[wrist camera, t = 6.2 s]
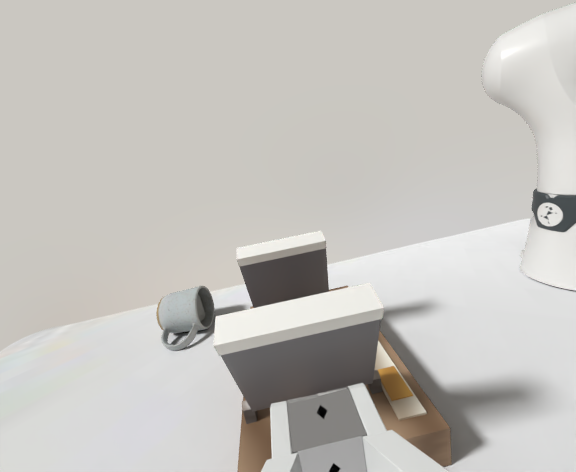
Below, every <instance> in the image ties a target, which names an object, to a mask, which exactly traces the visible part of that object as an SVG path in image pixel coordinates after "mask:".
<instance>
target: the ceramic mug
mask: <svg viewBox="0 0 576 472" xmlns="http://www.w3.org/2000/svg"><path fill="white" fill-rule="evenodd" d="M213 319H214V303H213V299H212V296H211V293H210V292H209V290H208V289H207V288H206V287H205V286H199V287H195V288H191V289H188V290H183V291H179V292H175V293H171V294H169V295H167V296H165V297H163V298H162V299H161V300H160V302H159V304H158V307H157V321H158V324H159V326H160V327H161V329H162V330H163V333H162V337H161V339H162V343H163V344H164V346H165V347H166V348H167V349H169V350H172V351H177V350H181V349H183V348H185V347H187V346H188V345H189V344H190V343H191V342H192V341H193V339H194V338H195V336H196V334H197V331H198V330H204V329H208V328H209V327H210V326H211V325H212V323H213ZM187 331H190V332H189V334H188V335H187V337H186V338H185V339H184V340H182V341H181V342H180V343H178V344H176V345H172V344H168V343H167V341H168V340H167V339H168V335H169V333H180V332H187Z"/></svg>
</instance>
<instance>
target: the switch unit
mask: <svg viewBox="0 0 576 472" xmlns="http://www.w3.org/2000/svg"><path fill="white" fill-rule="evenodd" d="M343 288H348V286H344V287H340V288H335V289H331V290H329V292H330V291H334V290H339V289H343ZM252 308H254V307H251V308H250V309H252ZM365 386H366V388H367V390H368V392H369V394H370V396H371V398H372V401H373V403H374V405H375V407H376V409H377V411H378V413H379V415H380V417H381V419H382V421H383V423H384V425H385V427H386V430H387V431H388V430H393V431H395V432H396V433H397V434H399V435H400V436H401V437H403V438H404V439H405V440H407V441H408V442H410V443H411V444H412V445H414V446H415V447H416V448H418V449H419V450H420V451H422V452H423V453H425V454H426V455H427V456H429V457H430V458H431V459H433V460H434V461H435V462H437V463H438V464H440V465H441V466H442V467H445V466H448V465H451V436H450V427H449V426H448V424H447V423H446V421H445V420H444V419H443V417H442V416H441V415H440V413H439V412H438V410H437V409H436V408H435V406H434V405H433V404H432V402H431V401H430V399H429V398H428V397H427V395H426V394H425V392H424V391H423V390H422V388H421V387H420V386H419V384H418V383H417V381H416V380H415V379H414V377H413V376H412V374H411V373H410V372H409V370H408V369H407V368H406V366H405V365H404V363H403V362H402V361H401V359H400V358H399V357H398V355H397V354H396V352H395V351H394V350H393V348H392V347H391V345H390V344H389V343H388V341H387V340H386V339H385V337H384V336H383V334H382V333H381V332H380V330H379V338H378V346H377V354H376V362H375V370H374V377H373V383H372V384H367V385H365ZM268 459H272V448H271V419H270V408H266V409H262V410H257V411H253V412H252V410H251V408H250V406H249V405H248V403H247V401H246V399H245V398H244V396H243V401H242V422H241V434H240V447H239V460H238V472H261V470H262V468H263V466H264V464H265V462H266V460H268Z"/></svg>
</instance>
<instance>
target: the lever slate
mask: <svg viewBox="0 0 576 472" xmlns="http://www.w3.org/2000/svg"><path fill="white" fill-rule="evenodd" d="M237 262H238V265H239V267H240V269H241V272H242V275H243V278H244V281H245V284H246V287H247V290H248V293H249V296H250V298H251V301H252V304H253V307H254V308H257V307H261V306H266V305H270V304H275V303H279V302H284V301H288V300H293V299H298V298H302V297H307V296H311V295H316V294H320V293H325V292H329V288H328V273H327V257H326V240H325V238H324V236H323V234H322V231H317V232H312V233H307V234H302V235H297V236H293V237H288V238H283V239H278V240H273V241H269V242H264V243H259V244H255V245H250V246H245V247H240V248H237Z"/></svg>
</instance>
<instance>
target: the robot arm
mask: <svg viewBox="0 0 576 472" xmlns="http://www.w3.org/2000/svg"><path fill="white" fill-rule="evenodd" d="M481 77H482V84H483V87H484V90H485V92H486V93H487V95H488V96H489V97H490V98H491V99H493V100H494V101H495V102H497V103H499V104H502V105H505V106H506V107H508V108H510V109H512V110H513V111H515V112H516V113H518V114H519V115H520V116H521V117H522V118H523V119H524V120H525V121H526V123H527V124H528V125H529V127H530V128H531V130H532V132H533V135H534V137H535V141H536V146H537V156H538V157H537V158H538V180H537V189H535V190H534V192H533V197H532V211H533V213H534V216H533V217H532V218H531V220H530V225H529V230H528V235H527V240H526V245H525V250H522V251H521V255H520V257H521V258H522V261H521V264H520V270H521V271H522V272H523V273H524V274H525V275H527V276H528V277H530V278H532V279H534V280H537V281H539V282H542V283H545V284H548V285H552V286H555V287H559V288H564V289H569V290H575V291H576V2H575V3H572V4H569V5H566V6H564V7H561V8H558V9H555V10H552V11H550V12H547V13H544V14H541V15H539V16H537V17H535V18H533V19H531V20H529V21H527V22H525V23H523V24H521V25H519V26H517V27H515V28H513V29H511V30H509V31H508V32H506V33H504V34H502V35H500V36H499V37H498V39H497V40H496V41H495V42H494V44H493V45H492V47H491V48H490V50H489V51H488V53H487V55H486V58H485V60H484V64H483V68H482V75H481ZM270 419H271V448H272V459H268V460H266V462H265V464H264V466H263V468H262V470H261V472H449V471H448V470H446V469H445V468H444V467H442V466H441V465H440V464H438V463H437V462H435V461H434V460H433V459H431V458H430V457H429V456H427V455H426V454H425V453H423V452H422V451H420V450H419V449H418V448H416V447H415V446H414V445H412V444H411V443H410V442H408V441H407V440H405V439H404V438H403V437H401V436H400V435H399V434H397V433H396V432H395V431H393V430H388V431H387V430H386V427H385V425H384V423H383V421H382V419H381V417H380V415H379V413H378V411H377V409H376V407H375V405H374V403H373V401H372V398H371V396H370V394H369V392H368V390H367V388H366V386H365V385H364V384H363V383H360V384H355V385H351V386H348V387H343V388H339V389H335V390H330V391H326V392H322V393H318V394H315V395H310V396H305V397H300V398H295V399H290V400H287V401H282V402H277V403H272V404H271V407H270Z"/></svg>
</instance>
